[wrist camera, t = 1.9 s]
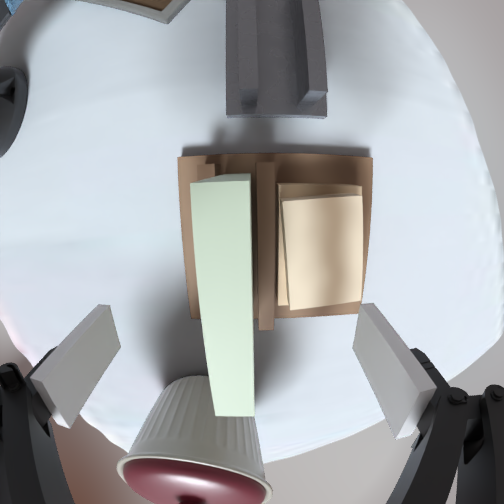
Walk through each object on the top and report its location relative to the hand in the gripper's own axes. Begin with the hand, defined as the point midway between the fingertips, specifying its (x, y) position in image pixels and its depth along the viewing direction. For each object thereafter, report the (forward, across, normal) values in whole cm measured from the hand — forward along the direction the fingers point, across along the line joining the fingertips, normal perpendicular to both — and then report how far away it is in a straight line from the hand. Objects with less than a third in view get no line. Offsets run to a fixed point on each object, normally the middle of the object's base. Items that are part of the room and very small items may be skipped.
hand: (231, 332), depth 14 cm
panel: (+16, 0, 0) cm, 16 cm away
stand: (+17, +4, +22) cm, 29 cm away
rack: (+18, +4, 0) cm, 18 cm away
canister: (+18, -6, -24) cm, 31 cm away
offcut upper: (+14, +7, 0) cm, 15 cm away
